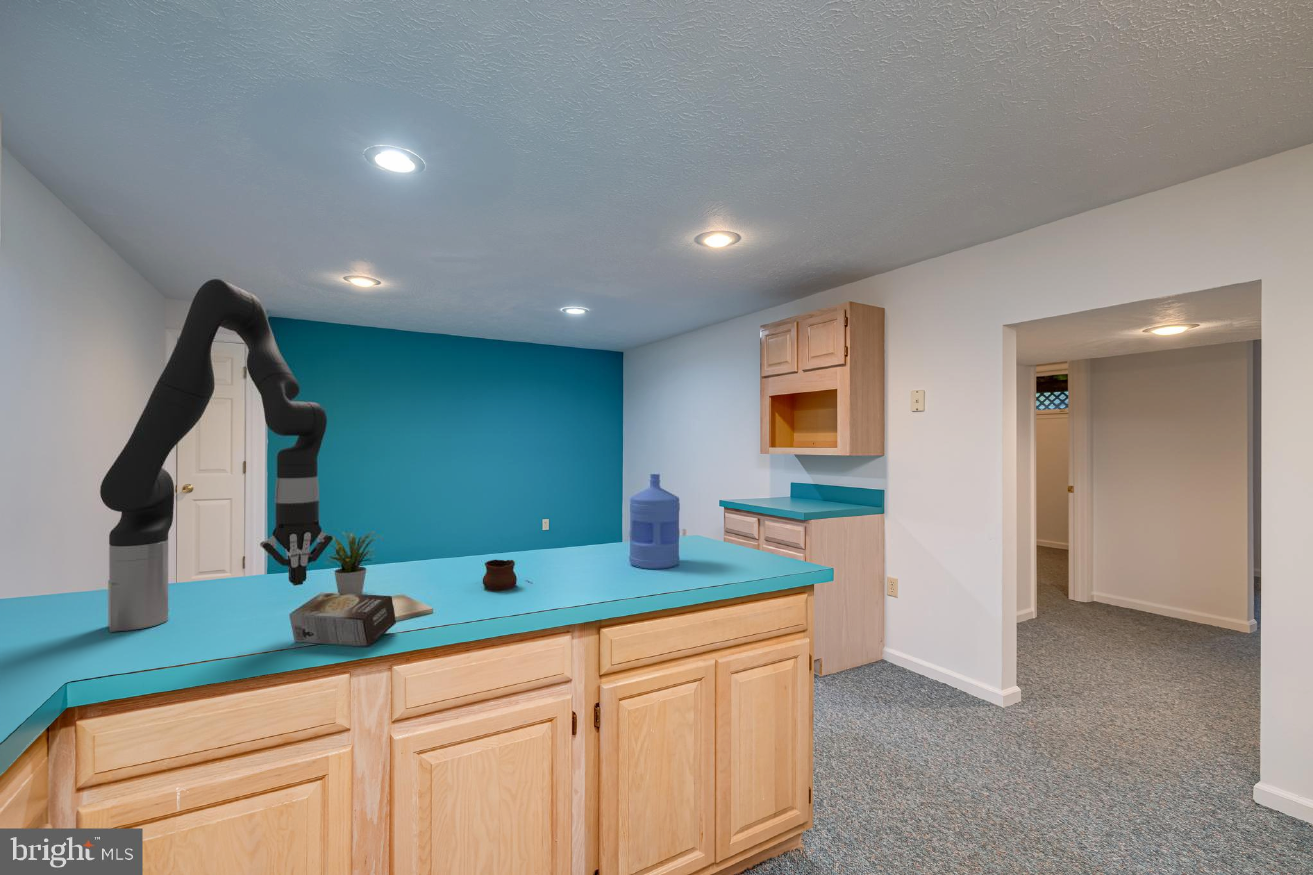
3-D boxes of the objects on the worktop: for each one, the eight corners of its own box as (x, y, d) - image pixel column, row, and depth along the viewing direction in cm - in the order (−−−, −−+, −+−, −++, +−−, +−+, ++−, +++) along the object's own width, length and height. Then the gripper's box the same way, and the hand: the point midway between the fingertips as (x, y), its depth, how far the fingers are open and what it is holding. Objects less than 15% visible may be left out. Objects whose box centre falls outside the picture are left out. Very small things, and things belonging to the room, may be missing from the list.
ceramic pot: (522, 575, 164) (522, 551, 164) (544, 591, 149) (543, 564, 148) (457, 585, 154) (456, 559, 154) (473, 603, 139) (472, 574, 139)
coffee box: (321, 590, 118) (393, 593, 116) (326, 618, 120) (397, 622, 118) (287, 613, 110) (364, 618, 107) (293, 643, 111) (369, 648, 109)
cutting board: (341, 633, 116) (341, 628, 116) (316, 615, 127) (316, 611, 127) (433, 612, 130) (433, 608, 130) (403, 598, 141) (403, 594, 141)
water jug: (627, 558, 187) (628, 472, 186) (675, 557, 188) (676, 472, 188) (630, 570, 171) (631, 476, 171) (682, 569, 173) (683, 476, 173)
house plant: (394, 585, 152) (394, 523, 152) (378, 600, 139) (378, 533, 138) (336, 587, 150) (336, 524, 150) (314, 603, 136) (314, 534, 136)
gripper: (263, 503, 109) (263, 594, 110) (339, 498, 119) (339, 581, 119) (254, 500, 115) (254, 587, 115) (327, 495, 124) (327, 575, 124)
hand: (297, 584), depth 117 cm, fingers closed
